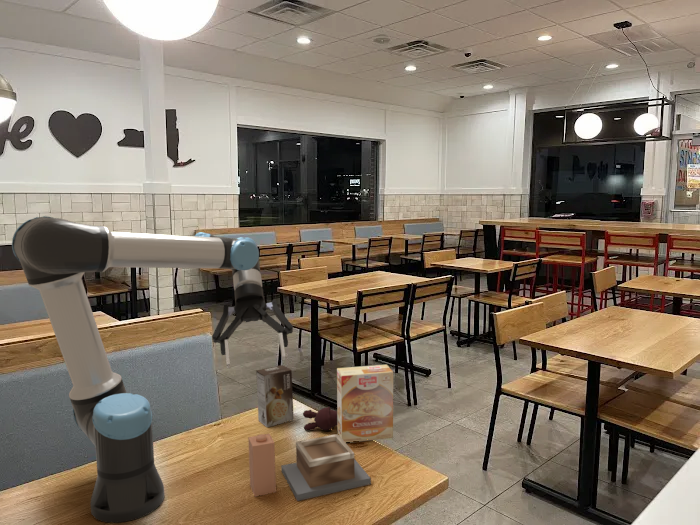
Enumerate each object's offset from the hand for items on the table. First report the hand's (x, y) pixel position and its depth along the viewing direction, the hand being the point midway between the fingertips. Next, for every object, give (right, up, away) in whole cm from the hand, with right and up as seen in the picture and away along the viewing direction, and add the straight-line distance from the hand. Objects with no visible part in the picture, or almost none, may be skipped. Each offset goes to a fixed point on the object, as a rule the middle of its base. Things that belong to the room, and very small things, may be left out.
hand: (256, 362), depth 130 cm
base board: (+17, -27, -3) cm, 32 cm away
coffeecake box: (+27, -25, +20) cm, 42 cm away
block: (+3, -28, -7) cm, 29 cm away
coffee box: (+1, -24, +30) cm, 38 cm away
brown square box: (+17, -26, -3) cm, 31 cm away
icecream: (+17, -24, +24) cm, 38 cm away
